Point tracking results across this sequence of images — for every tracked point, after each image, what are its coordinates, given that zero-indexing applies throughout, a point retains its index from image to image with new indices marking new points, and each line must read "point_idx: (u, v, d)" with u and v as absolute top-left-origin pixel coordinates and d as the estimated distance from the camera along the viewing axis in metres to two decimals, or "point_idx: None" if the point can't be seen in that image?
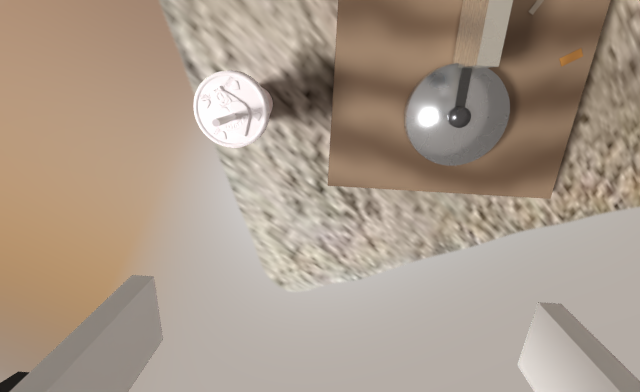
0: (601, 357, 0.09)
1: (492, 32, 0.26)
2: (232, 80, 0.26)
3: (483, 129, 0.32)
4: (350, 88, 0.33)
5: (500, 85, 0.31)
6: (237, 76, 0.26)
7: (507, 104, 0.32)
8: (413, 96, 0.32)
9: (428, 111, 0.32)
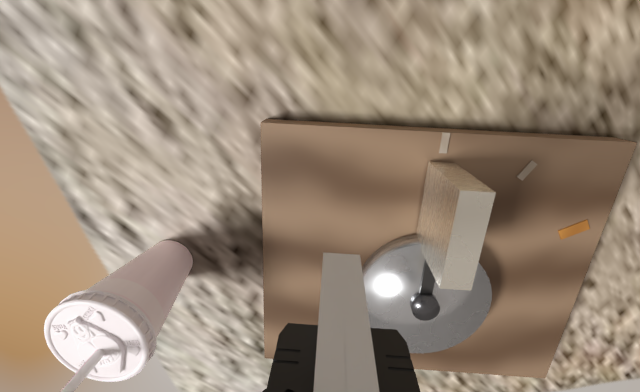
0: (352, 287, 0.11)
1: (461, 251, 0.18)
2: (93, 310, 0.19)
3: (457, 316, 0.25)
4: (285, 257, 0.26)
5: (479, 270, 0.23)
6: (99, 306, 0.18)
7: (488, 291, 0.24)
8: (364, 279, 0.24)
9: (384, 296, 0.24)
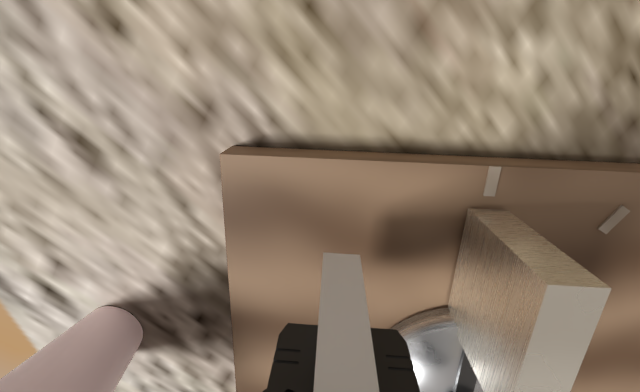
0: (352, 287, 0.11)
1: (542, 377, 0.11)
2: None
3: None
4: (263, 335, 0.18)
5: None
6: None
7: None
8: None
9: None
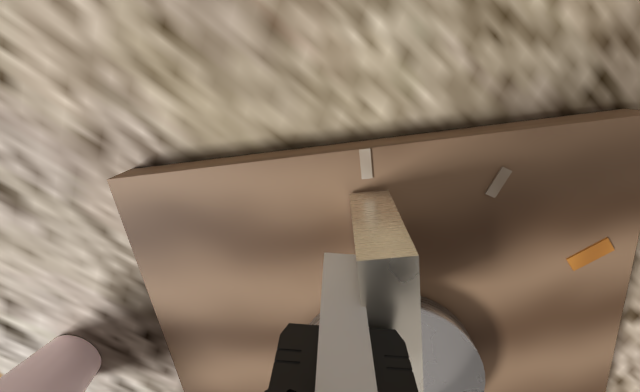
0: (350, 287, 0.11)
1: None
2: None
3: None
4: (196, 344, 0.19)
5: (455, 336, 0.16)
6: None
7: (477, 361, 0.16)
8: None
9: None
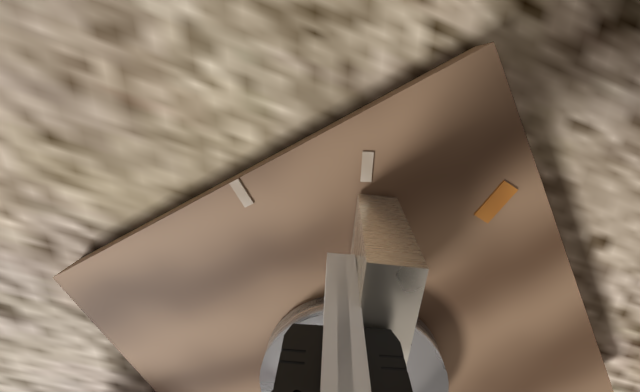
0: (346, 286, 0.11)
1: None
2: None
3: None
4: None
5: (429, 352, 0.16)
6: None
7: (443, 380, 0.17)
8: (267, 354, 0.17)
9: None
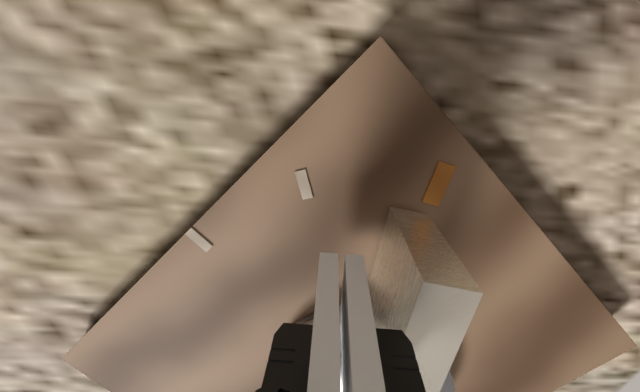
0: (356, 287, 0.11)
1: None
2: None
3: None
4: None
5: None
6: None
7: None
8: None
9: None
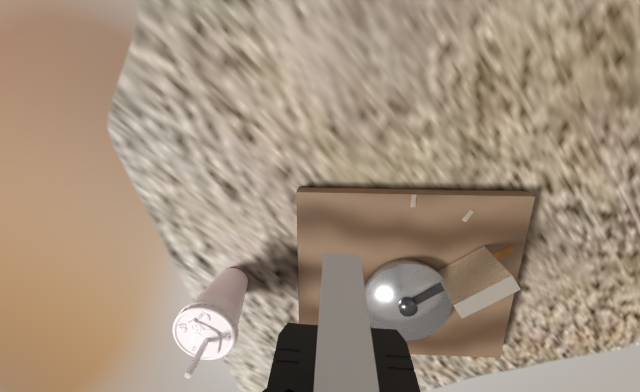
0: (352, 287, 0.11)
1: (480, 299, 0.31)
2: (204, 313, 0.31)
3: (411, 326, 0.37)
4: (313, 277, 0.38)
5: (447, 313, 0.37)
6: (208, 311, 0.31)
7: (438, 327, 0.37)
8: (399, 266, 0.35)
9: (396, 284, 0.36)
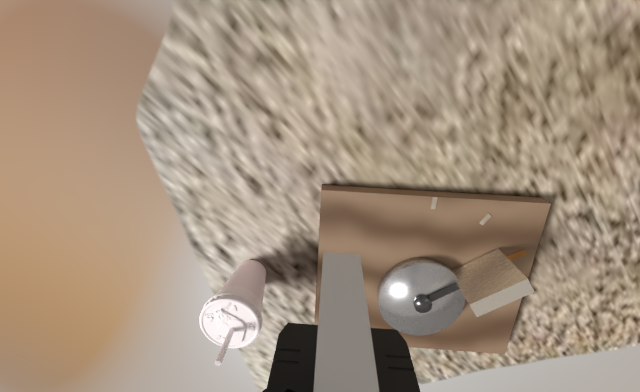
0: (352, 287, 0.11)
1: (496, 299, 0.32)
2: (231, 304, 0.32)
3: (423, 322, 0.39)
4: None
5: (458, 311, 0.38)
6: (235, 302, 0.32)
7: (449, 323, 0.39)
8: (416, 265, 0.37)
9: (412, 281, 0.37)
